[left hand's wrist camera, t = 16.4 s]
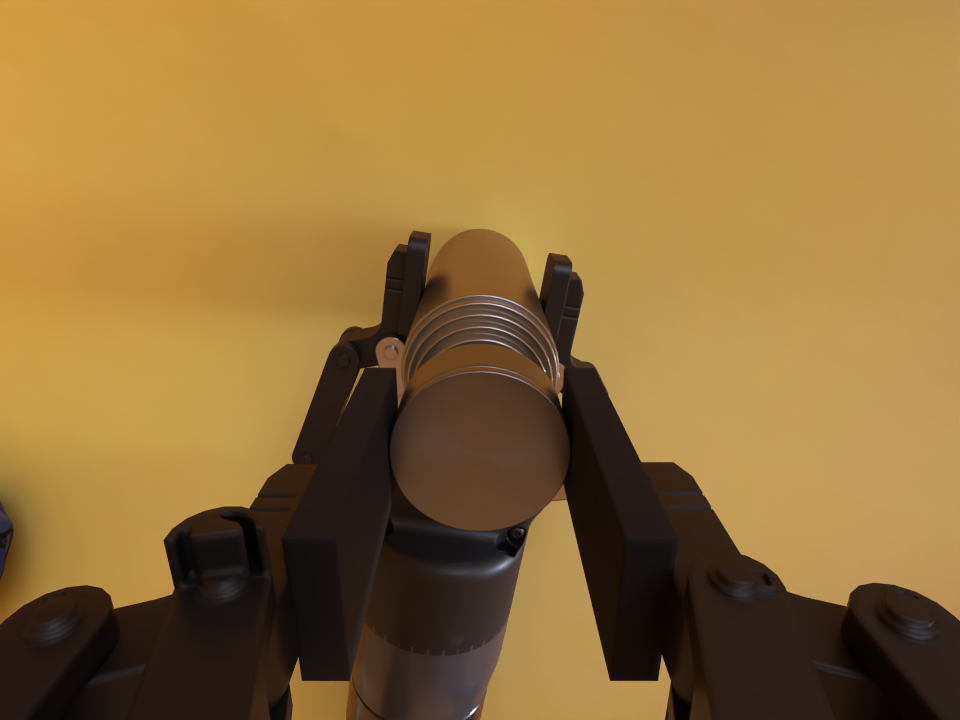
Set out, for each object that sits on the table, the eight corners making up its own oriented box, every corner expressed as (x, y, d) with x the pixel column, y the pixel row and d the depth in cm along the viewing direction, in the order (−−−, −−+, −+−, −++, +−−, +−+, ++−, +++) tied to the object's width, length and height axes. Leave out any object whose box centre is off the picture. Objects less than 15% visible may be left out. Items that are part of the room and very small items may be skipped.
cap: (592, 434, 15) (606, 471, 13) (464, 514, 16) (462, 560, 14) (497, 310, 14) (500, 334, 12) (365, 404, 15) (350, 439, 13)
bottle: (470, 340, 31) (461, 562, 15) (412, 268, 29) (332, 426, 13) (546, 286, 30) (623, 462, 14) (489, 208, 28) (502, 304, 12)
